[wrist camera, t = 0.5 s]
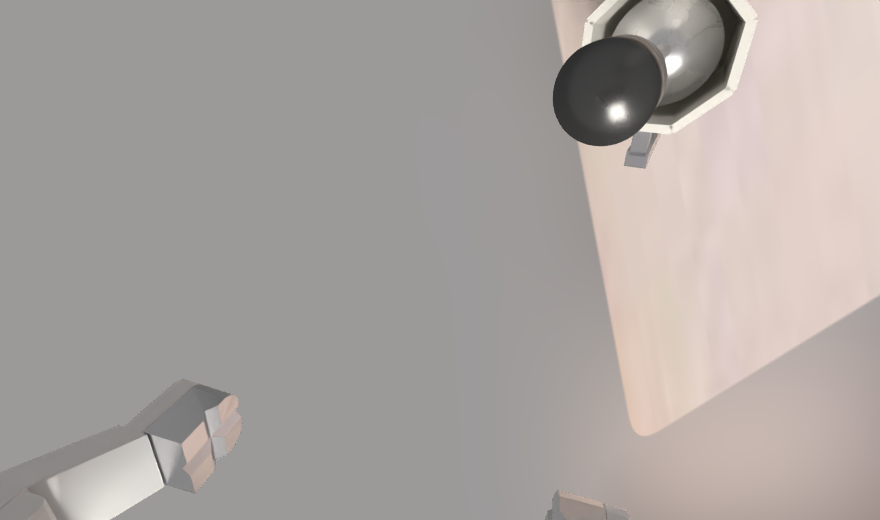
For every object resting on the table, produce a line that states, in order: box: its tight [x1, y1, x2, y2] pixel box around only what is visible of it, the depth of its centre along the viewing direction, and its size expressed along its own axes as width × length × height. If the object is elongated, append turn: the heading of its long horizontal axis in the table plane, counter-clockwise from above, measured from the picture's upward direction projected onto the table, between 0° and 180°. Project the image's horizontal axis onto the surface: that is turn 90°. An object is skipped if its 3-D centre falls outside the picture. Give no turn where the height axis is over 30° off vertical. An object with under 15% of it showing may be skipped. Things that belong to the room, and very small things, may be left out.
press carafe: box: [582, 0, 758, 168], centre depth 35 cm, size 13×10×16 cm
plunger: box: [553, 0, 725, 146], centre depth 23 cm, size 8×8×22 cm
